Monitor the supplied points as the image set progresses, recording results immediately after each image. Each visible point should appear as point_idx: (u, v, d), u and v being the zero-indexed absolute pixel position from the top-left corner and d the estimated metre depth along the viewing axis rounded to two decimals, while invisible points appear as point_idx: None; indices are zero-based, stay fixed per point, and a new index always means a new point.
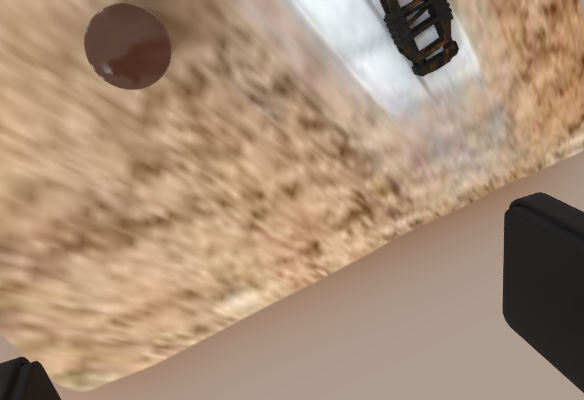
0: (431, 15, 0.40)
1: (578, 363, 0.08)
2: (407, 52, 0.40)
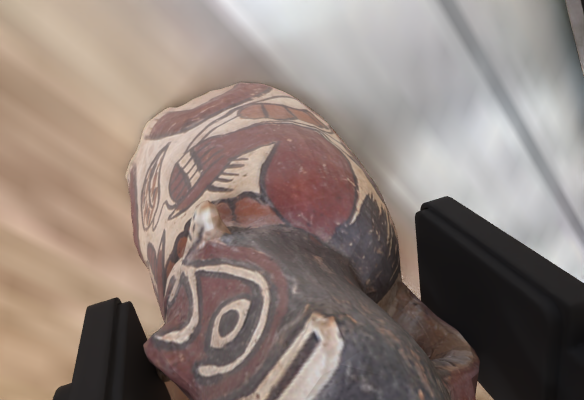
0: None
1: None
2: None
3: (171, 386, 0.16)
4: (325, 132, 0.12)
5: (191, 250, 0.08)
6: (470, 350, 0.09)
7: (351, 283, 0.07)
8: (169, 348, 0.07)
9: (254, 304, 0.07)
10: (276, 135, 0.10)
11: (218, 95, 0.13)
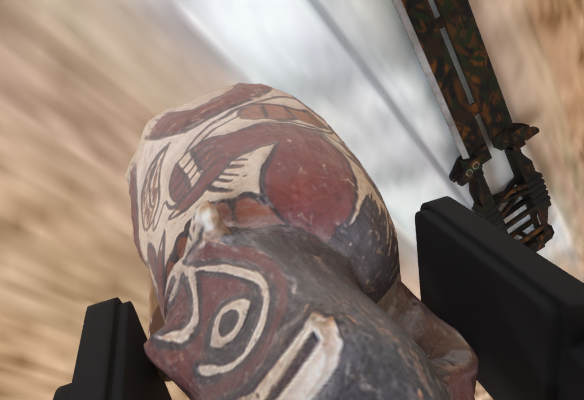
0: (524, 199, 0.35)
1: None
2: None
3: None
4: (325, 132, 0.12)
5: (191, 250, 0.08)
6: (469, 350, 0.09)
7: (350, 283, 0.08)
8: (169, 348, 0.07)
9: (253, 304, 0.07)
10: (276, 136, 0.10)
11: (218, 95, 0.13)
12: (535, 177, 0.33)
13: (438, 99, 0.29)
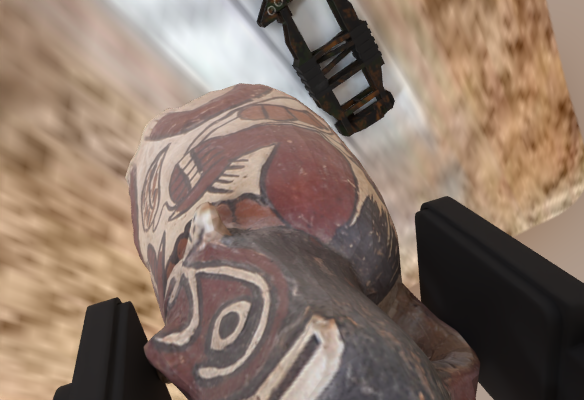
0: (357, 59, 0.31)
1: None
2: (324, 108, 0.30)
3: None
4: (325, 133, 0.12)
5: (191, 252, 0.08)
6: (470, 351, 0.09)
7: (351, 285, 0.07)
8: (169, 350, 0.07)
9: (254, 306, 0.07)
10: (276, 136, 0.10)
11: (218, 96, 0.13)
12: (358, 25, 0.29)
13: None
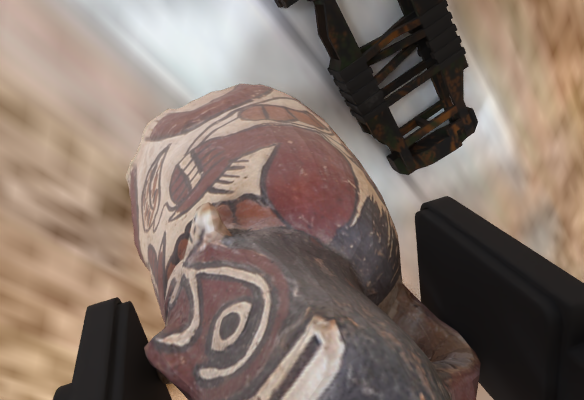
0: (424, 59, 0.20)
1: None
2: (376, 134, 0.20)
3: None
4: (326, 134, 0.12)
5: (192, 252, 0.08)
6: (471, 352, 0.09)
7: (352, 285, 0.07)
8: (170, 351, 0.07)
9: (254, 306, 0.07)
10: (277, 137, 0.10)
11: (218, 96, 0.13)
12: (434, 6, 0.18)
13: None
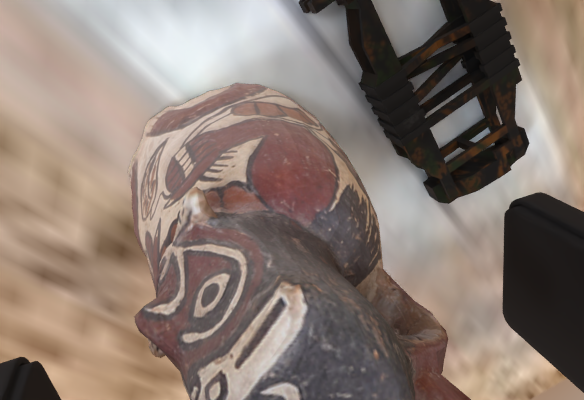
0: (469, 71, 0.17)
1: (578, 363, 0.08)
2: (415, 159, 0.17)
3: None
4: (313, 129, 0.13)
5: (180, 232, 0.09)
6: (440, 329, 0.09)
7: (324, 262, 0.08)
8: (157, 319, 0.08)
9: (232, 277, 0.08)
10: (265, 130, 0.11)
11: (215, 94, 0.14)
12: (486, 10, 0.16)
13: None
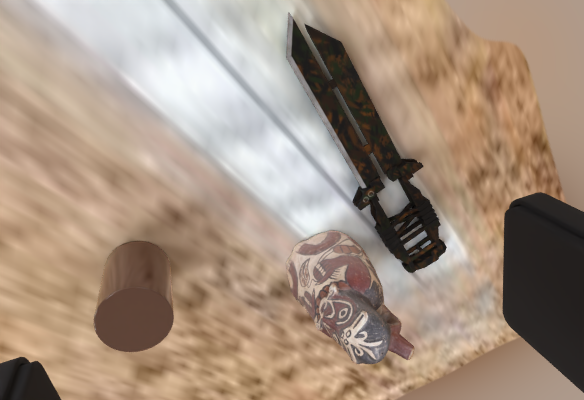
0: (420, 219, 0.42)
1: (578, 363, 0.08)
2: (397, 257, 0.42)
3: (113, 260, 0.34)
4: (360, 256, 0.37)
5: (330, 296, 0.34)
6: (399, 322, 0.34)
7: (369, 305, 0.33)
8: (328, 319, 0.33)
9: (348, 309, 0.32)
10: (347, 261, 0.36)
11: (323, 239, 0.39)
12: (424, 203, 0.40)
13: (336, 142, 0.37)
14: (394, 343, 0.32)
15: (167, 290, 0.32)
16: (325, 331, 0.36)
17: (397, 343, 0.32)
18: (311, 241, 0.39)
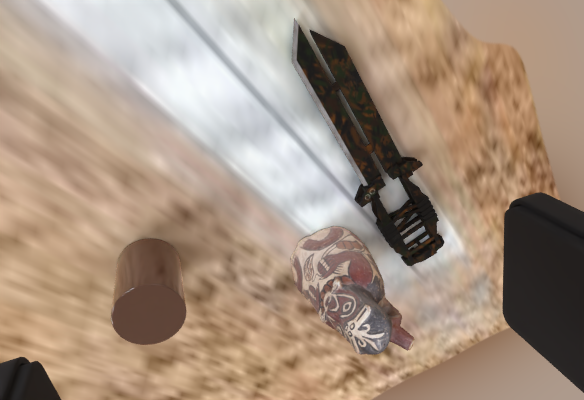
0: (419, 215, 0.44)
1: (578, 363, 0.08)
2: (397, 251, 0.44)
3: (126, 257, 0.36)
4: (362, 251, 0.39)
5: (334, 290, 0.36)
6: (400, 315, 0.36)
7: (371, 298, 0.35)
8: (333, 312, 0.35)
9: (352, 303, 0.34)
10: (350, 257, 0.38)
11: (326, 235, 0.41)
12: (423, 199, 0.42)
13: (339, 142, 0.38)
14: (395, 335, 0.34)
15: (179, 286, 0.34)
16: (329, 323, 0.38)
17: (398, 335, 0.34)
18: (315, 237, 0.41)
